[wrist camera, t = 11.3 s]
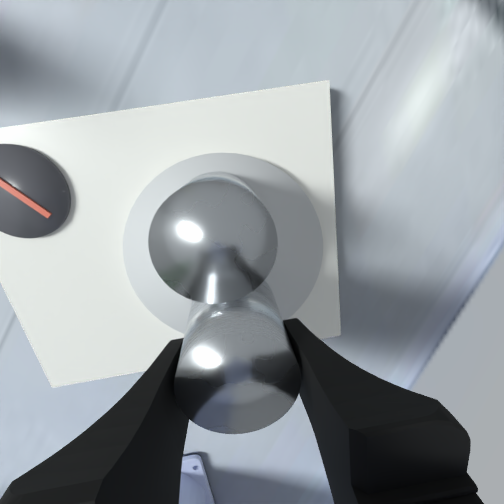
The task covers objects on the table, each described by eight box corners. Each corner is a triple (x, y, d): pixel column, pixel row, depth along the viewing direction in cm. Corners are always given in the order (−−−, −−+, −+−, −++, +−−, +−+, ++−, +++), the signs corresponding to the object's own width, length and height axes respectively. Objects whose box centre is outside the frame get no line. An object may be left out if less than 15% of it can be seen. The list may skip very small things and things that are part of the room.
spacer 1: (253, 258, 16) (267, 307, 11) (173, 249, 15) (146, 298, 10) (265, 177, 14) (287, 190, 9) (177, 165, 14) (149, 172, 9)
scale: (334, 325, 20) (344, 341, 18) (62, 374, 19) (46, 395, 18) (321, 85, 15) (333, 76, 13) (-47, 139, 14) (-84, 137, 13)
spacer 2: (284, 327, 16) (314, 411, 10) (209, 352, 16) (201, 448, 11) (260, 256, 14) (281, 314, 9) (178, 284, 14) (152, 357, 9)
